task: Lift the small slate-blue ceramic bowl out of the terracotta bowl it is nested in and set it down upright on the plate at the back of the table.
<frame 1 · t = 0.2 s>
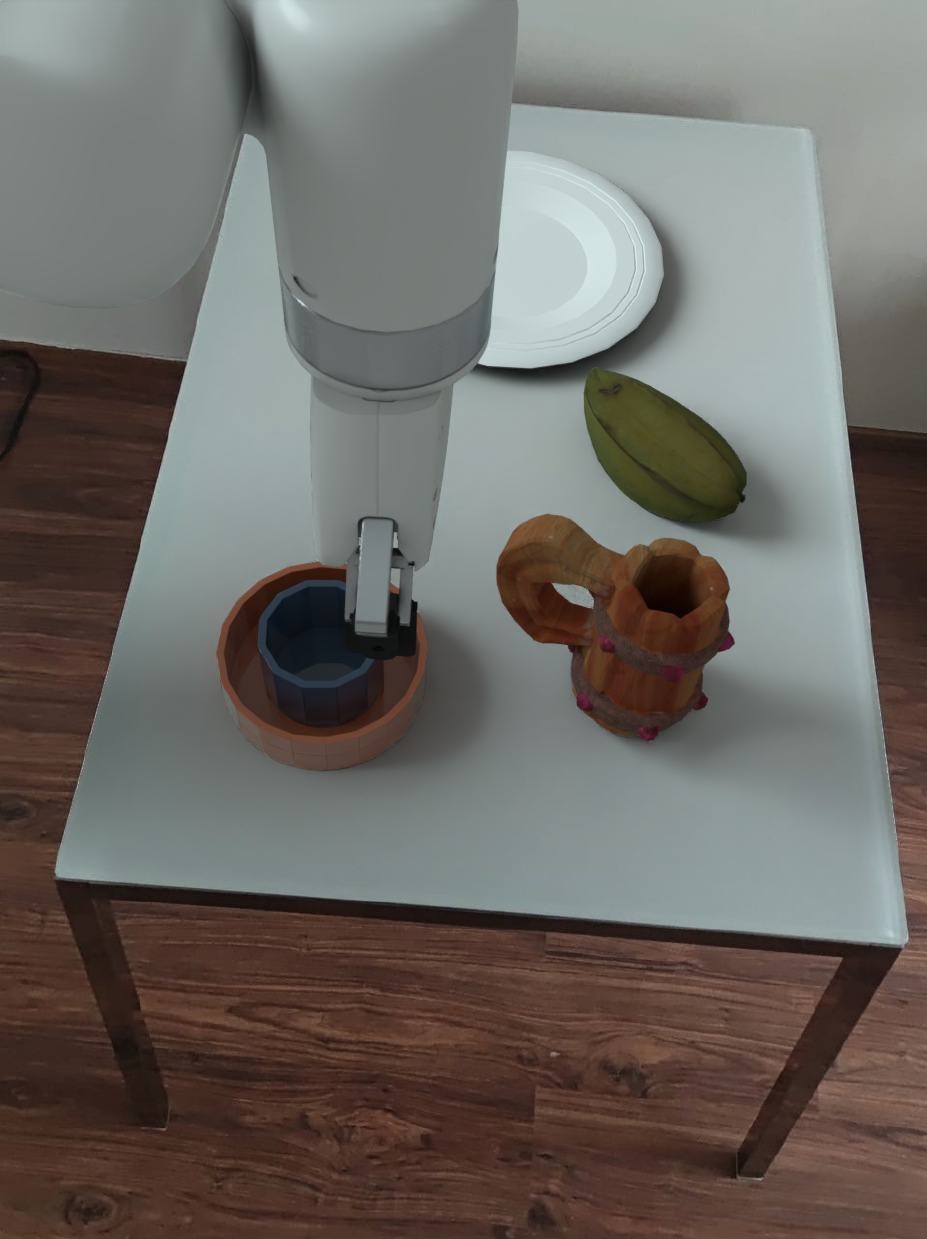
hand: (389, 560, 58), 22 cm above the table, tool pointing down, fingers open, 9 cm apart
fruit: (654, 474, 90), on the table
small bowl: (325, 675, 79), resting on big bowl
mug: (591, 683, 80), on the table
big bowl: (325, 678, 79), on the table
plate: (508, 269, 100), on the table
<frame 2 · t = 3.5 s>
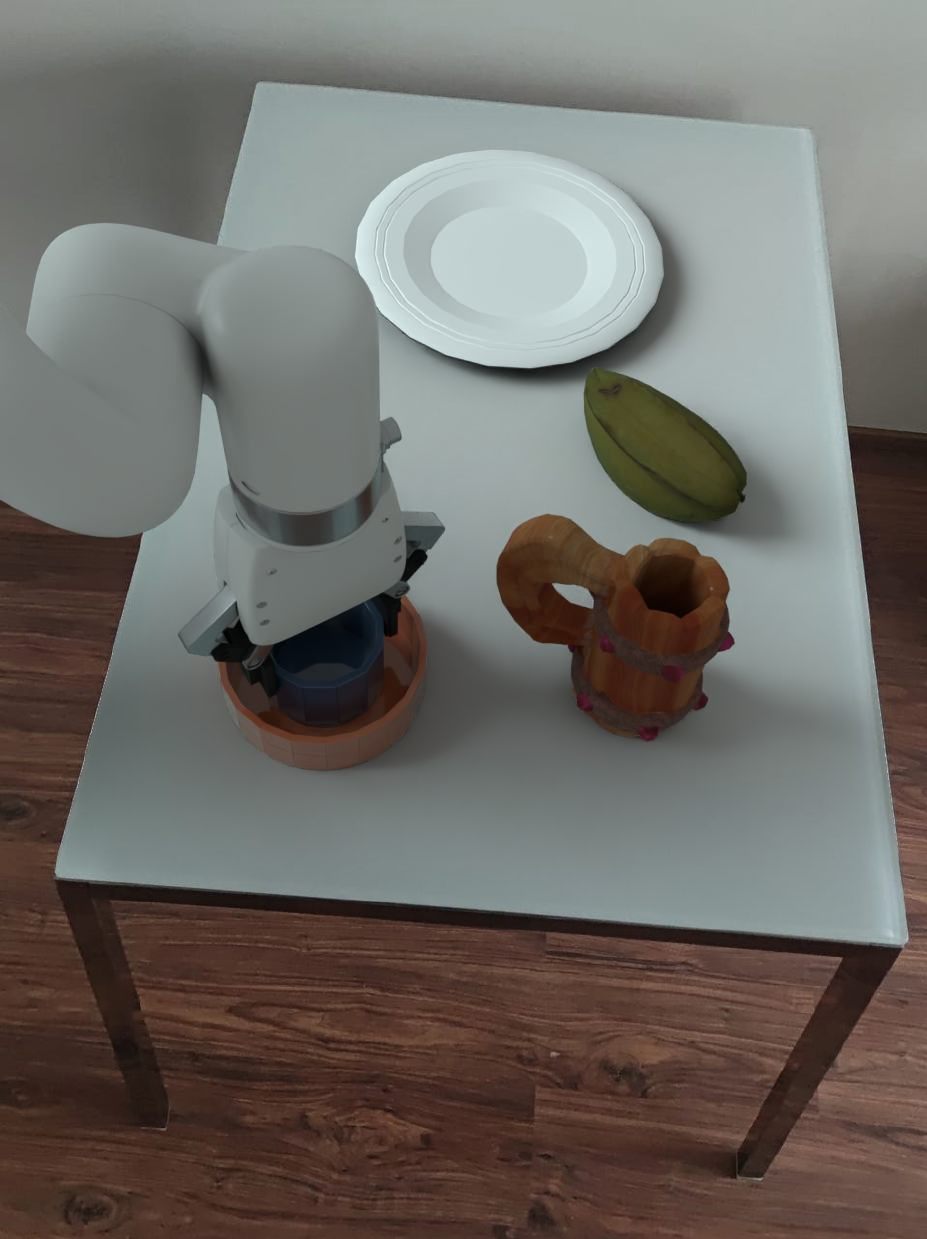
hand: (322, 647, 76), 4 cm above the table, tool pointing down, fingers closed on small bowl, 7 cm apart
small bowl: (325, 674, 79), point 1 cm above the table, touching big bowl, gripper
everything else where it was.
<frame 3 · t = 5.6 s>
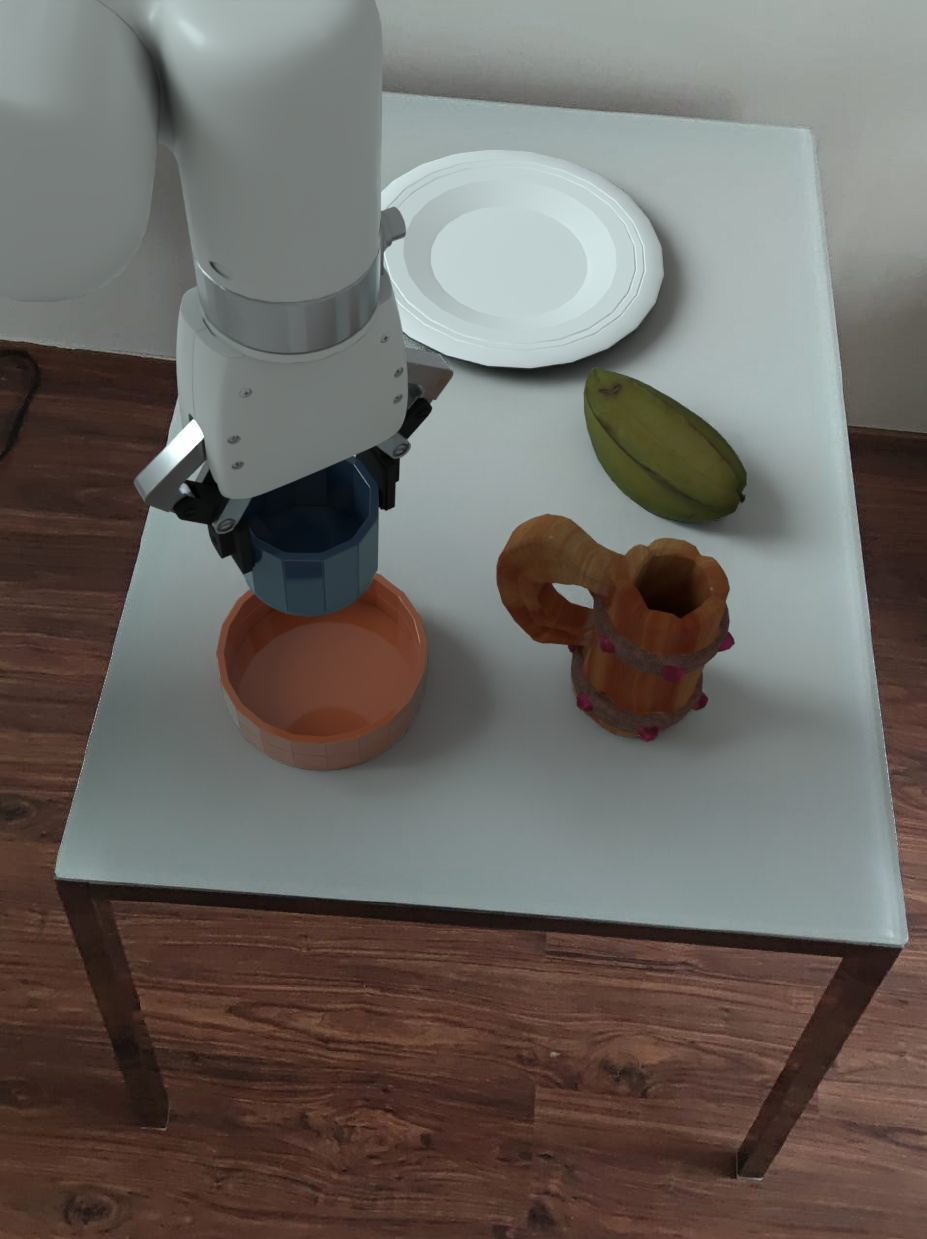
hand: (307, 520, 65), 17 cm above the table, tool pointing down, fingers closed on small bowl, 7 cm apart
small bowl: (309, 558, 68), point 13 cm above the table, touching gripper
everything else where it was.
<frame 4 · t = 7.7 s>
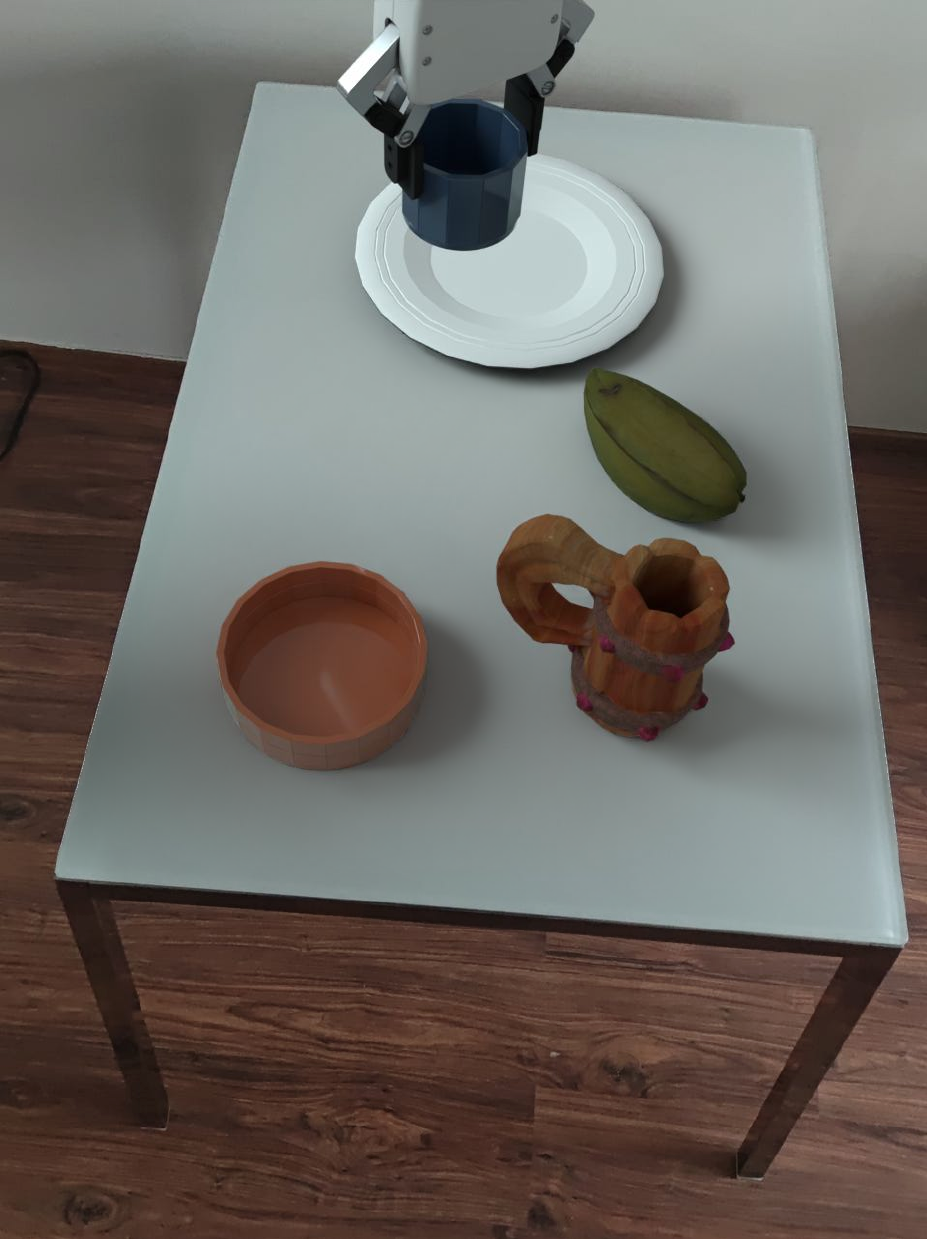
hand: (463, 162, 76), 20 cm above the table, tool pointing down, fingers closed on small bowl, 7 cm apart
small bowl: (460, 210, 79), point 16 cm above the table, touching gripper
everything else where it was.
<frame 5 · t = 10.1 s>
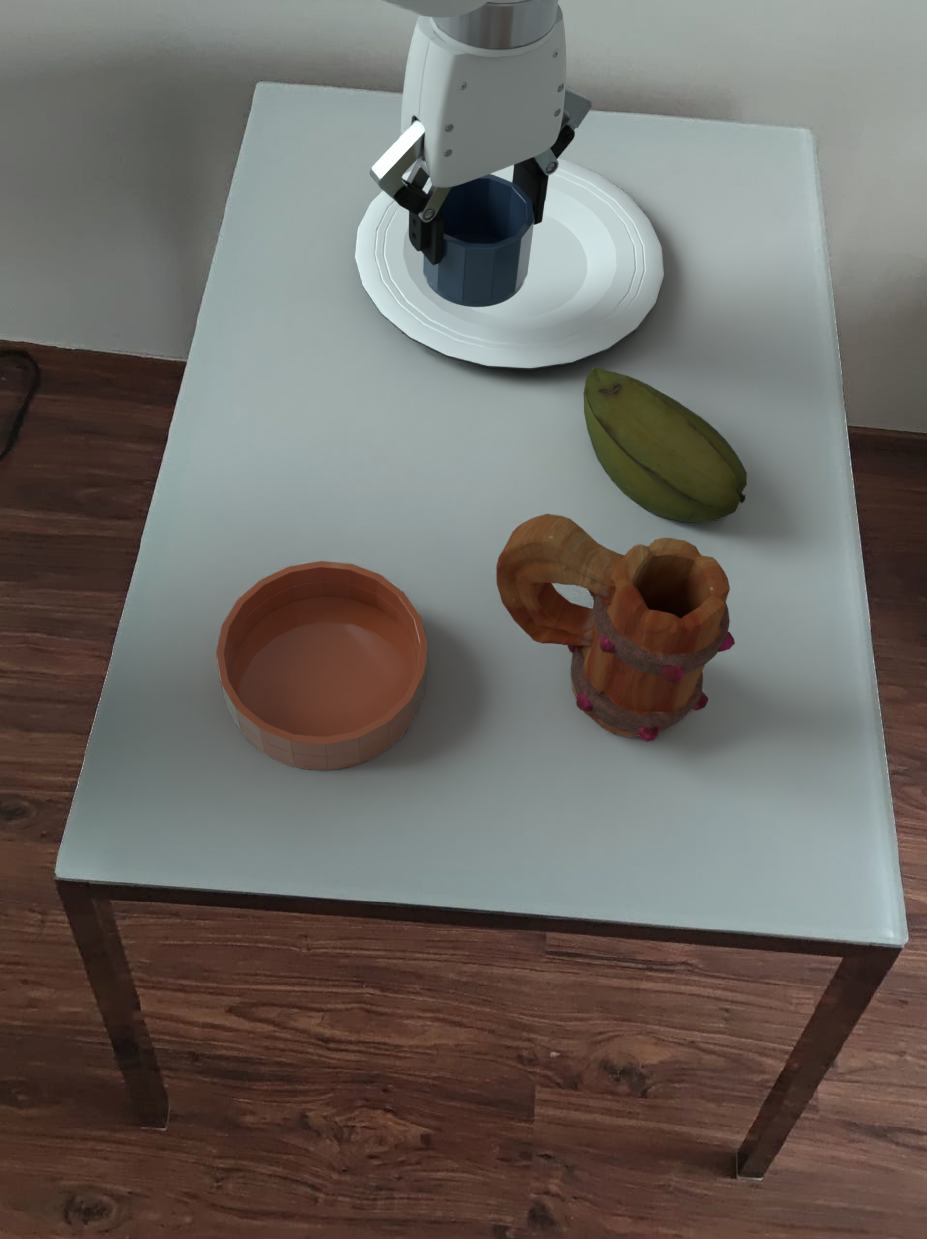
hand: (477, 230, 86), 11 cm above the table, tool pointing down, fingers closed on small bowl, 7 cm apart
small bowl: (474, 269, 89), point 7 cm above the table, touching gripper
everything else where it was.
when the fingers open (6 cm above the table, at t = 11.8 s): small bowl stays where it is, resting on plate.
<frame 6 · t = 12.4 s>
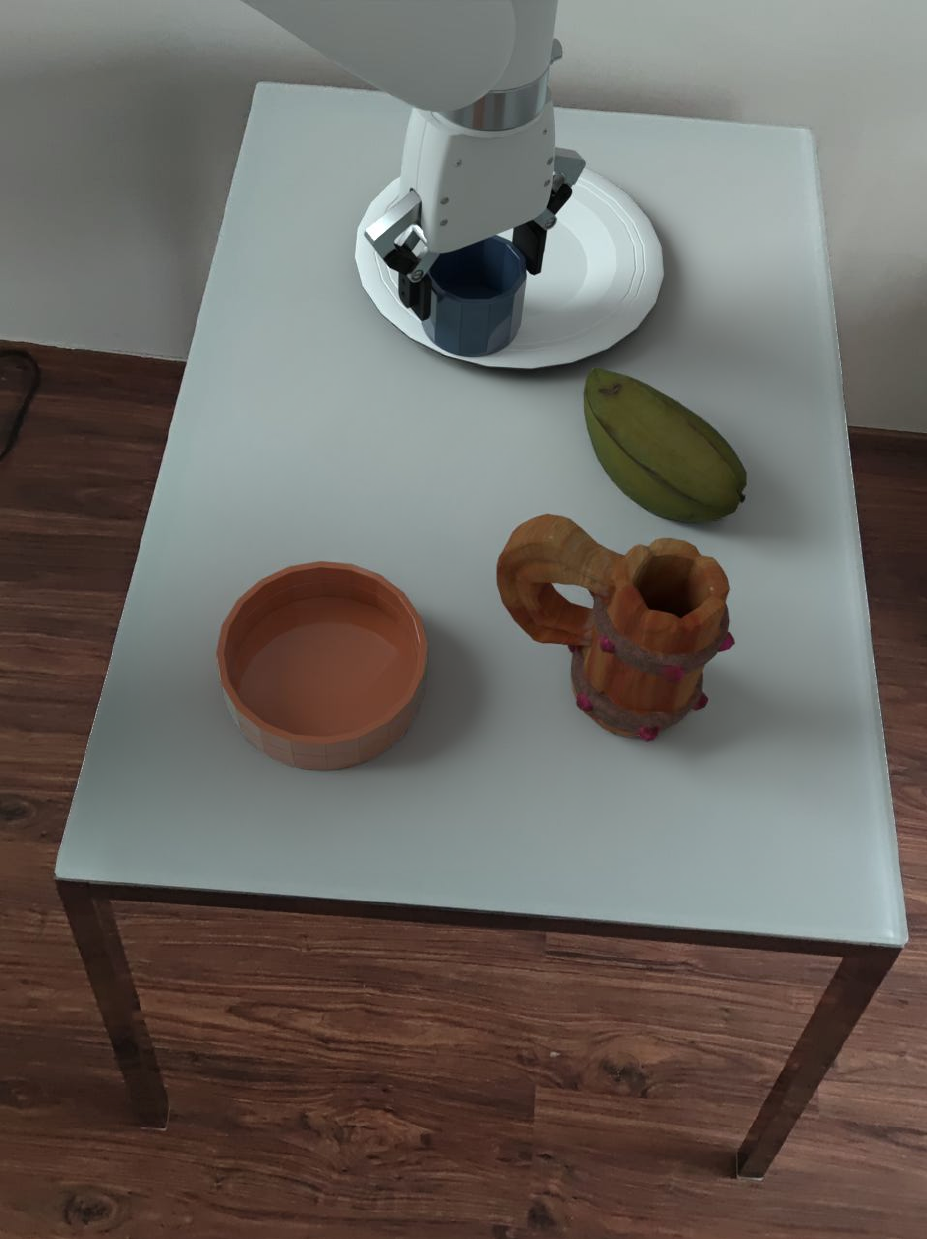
hand: (471, 285, 91), 6 cm above the table, tool pointing down, fingers open, 9 cm apart
small bowl: (470, 320, 94), point 2 cm above the table, touching plate
plate: (508, 269, 100), on the table, touching small bowl
everything else where it was.
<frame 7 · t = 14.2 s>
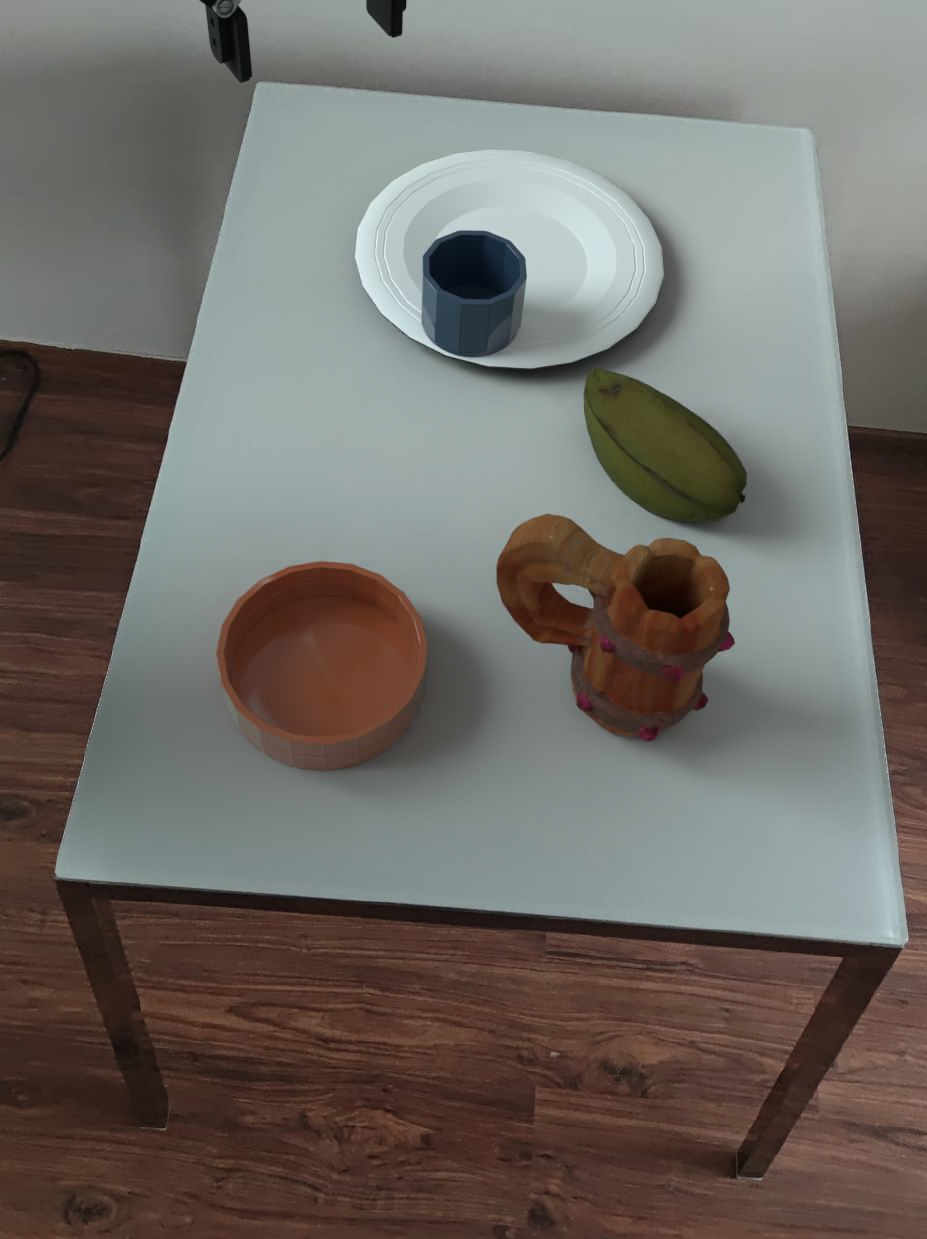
hand: (311, 45, 70), 27 cm above the table, tool pointing down, fingers open, 9 cm apart
nothing on the table moved.
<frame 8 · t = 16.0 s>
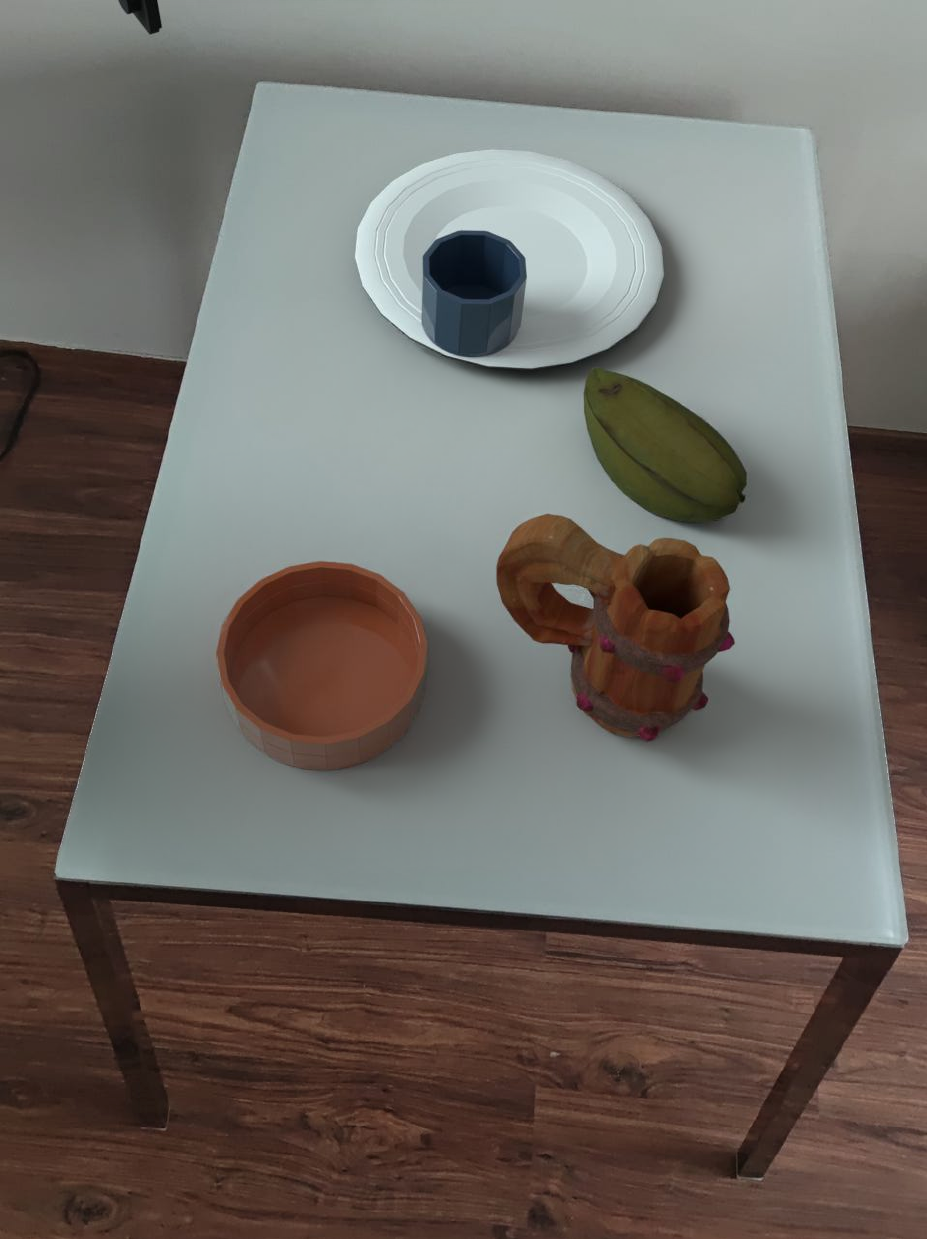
nothing on the table moved.
at the end: small bowl inside the target area on the plate (0.1 cm from its centre), point 2.1 cm above the plate's base; small bowl tilted 0°; small bowl touching plate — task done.
